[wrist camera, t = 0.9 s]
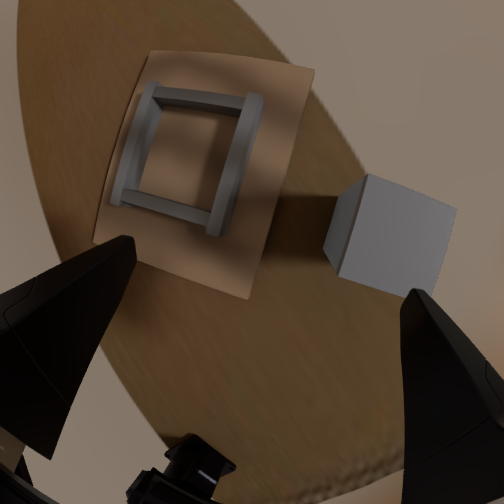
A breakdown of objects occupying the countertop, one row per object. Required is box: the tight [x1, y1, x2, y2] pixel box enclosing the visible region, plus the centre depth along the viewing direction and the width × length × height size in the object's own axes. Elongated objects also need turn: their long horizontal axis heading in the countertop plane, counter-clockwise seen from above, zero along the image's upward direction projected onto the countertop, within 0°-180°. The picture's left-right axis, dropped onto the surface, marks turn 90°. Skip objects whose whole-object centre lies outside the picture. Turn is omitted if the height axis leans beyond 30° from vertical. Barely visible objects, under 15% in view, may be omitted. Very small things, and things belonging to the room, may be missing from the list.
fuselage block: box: [323, 174, 457, 298], centre depth 17 cm, size 4×4×12 cm
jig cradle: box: [93, 50, 315, 300], centre depth 23 cm, size 20×16×4 cm
